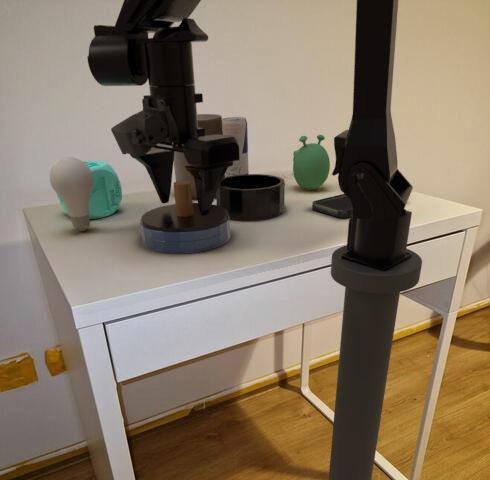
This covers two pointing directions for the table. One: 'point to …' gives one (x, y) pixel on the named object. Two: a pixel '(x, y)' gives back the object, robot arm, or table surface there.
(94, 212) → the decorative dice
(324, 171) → the alien toy
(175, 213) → the lid
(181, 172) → the pillar candle
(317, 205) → the phone
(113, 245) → the table surface
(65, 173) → the lightbulb
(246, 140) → the energy drink
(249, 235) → the table surface
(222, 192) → the tin
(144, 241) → the pan
